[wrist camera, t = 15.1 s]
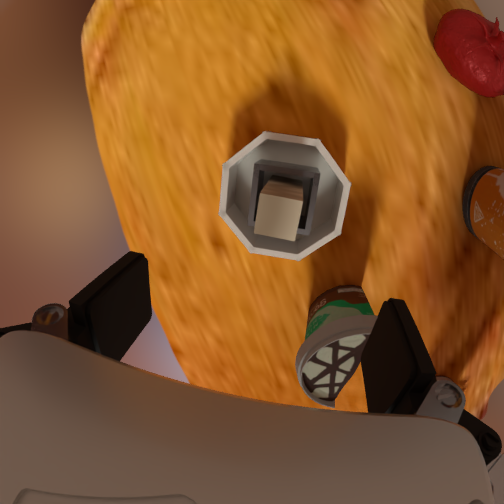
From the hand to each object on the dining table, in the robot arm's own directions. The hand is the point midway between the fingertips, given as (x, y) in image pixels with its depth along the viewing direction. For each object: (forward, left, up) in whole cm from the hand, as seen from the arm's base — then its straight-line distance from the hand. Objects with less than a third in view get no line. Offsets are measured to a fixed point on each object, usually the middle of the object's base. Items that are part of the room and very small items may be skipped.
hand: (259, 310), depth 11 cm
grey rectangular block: (0, 0, -20) cm, 20 cm away
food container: (-7, +13, -21) cm, 25 cm away
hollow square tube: (0, -1, -20) cm, 20 cm away
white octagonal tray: (0, -1, -20) cm, 20 cm away
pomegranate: (-18, -21, -21) cm, 34 cm away
